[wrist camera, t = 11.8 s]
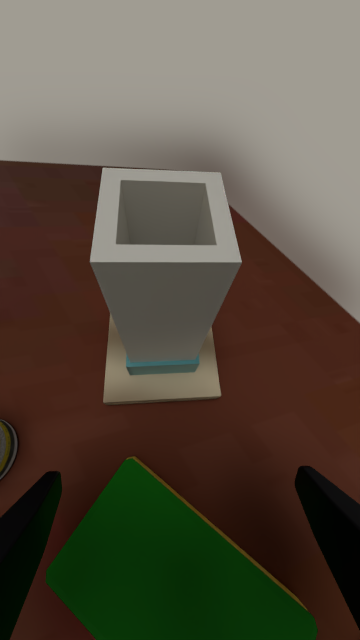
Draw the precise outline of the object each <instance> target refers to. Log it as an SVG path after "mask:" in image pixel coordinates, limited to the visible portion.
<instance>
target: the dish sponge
mask: <svg viewBox="0 0 360 640" xmlns="http://www.w3.org/2000/svg"><path fill="white" fill-rule="evenodd" d="M46 583H47V584H48V585H49V587H50V588H51V589H52V590H53V591H54V592H55V593H56V594H57V596H58V597H59V598H60V599H61V600H62V601H63V602H64V603H65V605H66V606H67V607H68V608H69V609H70V610H71V611H72V613H73V614H74V615H75V616H76V617H77V618H78V619H79V620H80V622H81V623H82V624H83V625H84V626H85V627H86V628H87V629H88V631H89V632H90V633H91V634H92V635H93V636H94V637H95V639H96V640H315V639H316V636H317V632H318V629H317V626H316V622H315V619H314V617H313V616H312V615H311V613H309V612H308V610H307V609H306V607H305V606H304V605H303V604H302V603H301V602H300V600H299V599H298V598H297V597H296V596H295V595H294V594H293V593H292V592H291V591H289V590H288V589H287V588H286V587H285V586H284V585H283V584H281V583H280V582H279V581H278V580H277V579H276V578H274V577H273V576H272V575H271V574H270V573H269V572H268V571H266V570H265V569H264V568H263V567H262V566H261V565H260V564H258V563H257V562H256V561H255V560H254V559H253V558H252V557H250V556H249V555H248V554H247V553H246V552H245V551H243V550H242V549H241V548H240V547H239V546H238V545H237V544H235V543H234V542H233V541H232V540H231V539H230V538H229V537H227V536H226V535H225V534H224V533H223V532H222V531H221V530H219V529H218V528H217V527H216V526H215V525H214V524H212V523H211V522H210V521H209V520H208V519H207V518H206V517H204V516H203V515H202V514H201V513H200V512H199V511H198V510H196V509H195V508H194V507H193V506H192V505H191V504H189V503H188V502H187V501H186V500H185V499H184V498H183V497H181V496H180V495H179V494H178V493H177V492H176V491H175V490H173V489H172V488H171V487H170V486H169V485H168V484H167V483H165V482H164V481H163V480H162V479H161V478H160V477H158V476H157V475H156V474H155V473H154V472H153V471H152V470H150V469H149V468H148V467H147V466H146V465H145V464H144V463H142V462H141V461H140V460H139V459H138V458H137V457H136V456H133V457H128V458H127V459H126V460H125V461H124V462H123V463H122V465H121V466H120V468H119V469H118V470H117V472H116V473H115V475H114V476H113V477H112V479H111V480H110V482H109V483H108V484H107V486H106V487H105V489H104V490H103V492H102V493H101V494H100V496H99V497H98V499H97V500H96V501H95V503H94V504H93V506H92V507H91V508H90V510H89V511H88V513H87V514H86V515H85V517H84V518H83V520H82V521H81V522H80V524H79V525H78V527H77V528H76V529H75V531H74V532H73V534H72V535H71V537H70V538H69V539H68V541H67V542H66V544H65V545H64V546H63V548H62V549H61V551H60V552H59V553H58V555H57V556H56V558H55V559H54V560H53V562H52V563H51V565H50V566H49V567H48V569H47V570H46Z"/></svg>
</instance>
